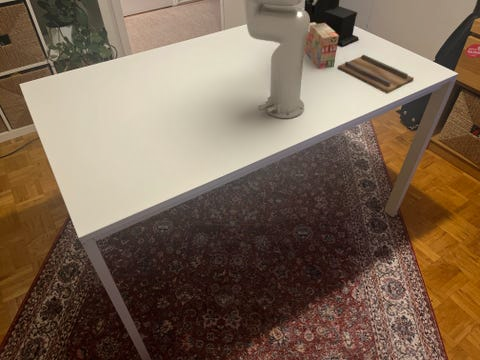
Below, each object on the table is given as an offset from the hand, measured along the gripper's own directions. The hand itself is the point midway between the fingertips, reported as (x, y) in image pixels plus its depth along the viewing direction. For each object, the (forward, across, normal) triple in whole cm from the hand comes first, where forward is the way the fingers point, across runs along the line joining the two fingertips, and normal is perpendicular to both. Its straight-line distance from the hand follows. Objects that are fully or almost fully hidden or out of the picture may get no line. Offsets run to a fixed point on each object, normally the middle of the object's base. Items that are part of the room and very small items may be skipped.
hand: (321, 11), depth 136 cm
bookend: (+18, +18, +11) cm, 27 cm away
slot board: (+17, +5, -24) cm, 30 cm away
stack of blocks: (+17, -1, 0) cm, 17 cm away
